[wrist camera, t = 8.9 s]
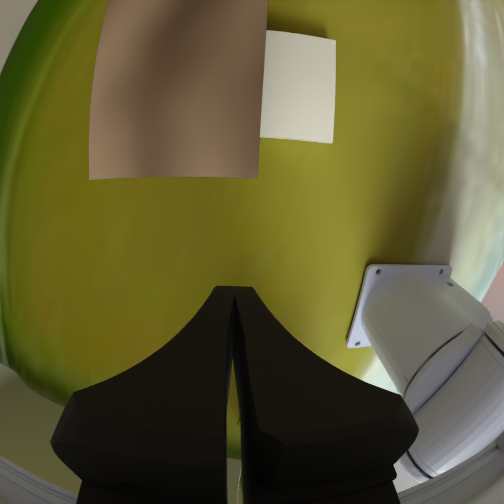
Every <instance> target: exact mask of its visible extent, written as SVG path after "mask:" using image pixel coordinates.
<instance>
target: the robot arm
mask: <svg viewBox="0 0 504 504" xmlns="http://www.w3.org/2000/svg"><path fill="white" fill-rule="evenodd" d="M378 269H379V272H377V273H376V271H377V270H378ZM440 270H441V271H440ZM451 271H452V268H451V267H450V266H449V265H399V264H371V265H369V266H368V267H367V269H366V272H365V276H364V280H363V284H362V288H361V292H360V296H359V300H358V304H357V307H356V311H355V315H354V318H353V322H352V325H351V328H350V332H349V335H348V338H347V342H346V344H347V346H348V348H358V347H367V346H372V347H373V349H374V351H375V352H376V354H377V356H378V357H379V359H380V361H381V363H382V364H383V366H384V368H385V369H386V371H387V373H388V375H389V376H390V378H391V380H392V382H393V383H394V385H395V387H396V389H397V391H398V392H399V394H400V395H399V394H396V393H393V392H391V391H388V390H385V389H382V388H379V387H377V386H374V385H371V384H369V383H366V382H364V381H362V380H360V379H358V378H356V377H354V376H352V375H349V374H347V373H345V372H344V371H342V370H340V369H338V368H336V367H335V366H333V365H331V364H330V363H328V362H327V361H325V360H323V359H322V358H320V357H319V356H317V355H316V354H315V353H313V352H312V351H310V350H309V349H308V348H306V347H305V346H304V345H303V344H302V343H300V342H299V341H298V340H297V339H295V338H294V337H293V336H292V335H291V334H290V333H289V332H288V331H287V330H286V329H285V328H284V327H283V326H282V325H281V324H280V323H279V321H278V320H277V319H276V318H275V317H274V316H273V314H272V313H271V312H270V311H269V310H268V308H267V307H266V306H265V304H264V303H263V302H262V300H261V299H260V297H259V296H258V294H257V293H256V291H255V290H254V288H253V287H241V286H216V287H215V288H214V289H213V291H212V292H211V294H210V296H209V297H208V299H207V300H206V301H205V303H204V304H203V306H202V307H201V308H200V309H199V311H198V312H197V313H196V314H195V316H194V317H193V318H192V319H191V320H190V321H189V322H188V323H187V324H186V325H185V327H184V328H183V329H182V330H181V331H180V332H179V333H178V334H177V335H176V336H174V337H173V338H172V339H171V340H170V341H169V342H168V343H166V344H165V345H164V346H163V347H162V348H160V349H159V350H158V351H156V352H155V353H153V354H152V355H150V356H149V357H147V358H146V359H145V360H143V361H142V362H140V363H138V364H137V365H135V366H133V367H131V368H130V369H128V370H126V371H124V372H122V373H120V374H118V375H116V376H114V377H112V378H110V379H107V380H105V381H103V382H100V383H98V384H95V385H93V386H90V387H87V388H85V389H82V390H79V391H76V392H74V393H73V394H72V396H71V398H70V399H69V401H68V403H67V404H66V406H65V408H64V411H63V413H62V415H61V417H60V420H59V422H58V424H57V426H56V429H55V431H54V433H53V436H52V438H51V441H50V443H51V446H52V448H53V450H54V452H55V453H56V455H57V456H58V457H59V458H60V460H61V461H62V462H63V463H64V464H65V465H67V467H69V468H70V469H71V470H72V471H73V472H74V473H75V474H76V475H77V476H78V477H79V478H80V479H81V480H82V483H81V487H80V491H79V494H76V493H74V492H71V491H69V490H66V489H64V488H61V487H59V486H57V485H54V484H52V483H50V482H48V481H46V480H44V479H42V478H40V477H38V476H36V475H33V474H32V473H30V472H28V471H26V470H24V469H22V468H21V467H19V466H17V465H15V464H14V463H12V462H10V461H9V460H7V459H5V458H4V457H2V456H1V455H0V504H228V497H227V404H228V395H229V386H230V377H231V368H232V359H233V362H234V370H235V379H236V386H237V394H238V402H239V410H240V430H241V462H242V494H243V504H504V323H502V322H501V321H500V320H497V321H493V319H492V316H491V315H490V312H489V311H488V309H486V307H485V306H484V305H483V304H481V303H480V302H479V301H478V300H477V299H475V298H474V297H473V296H472V295H471V294H469V293H468V292H467V291H466V290H465V289H463V288H462V287H461V286H460V285H458V284H457V283H456V282H455V281H453V280H452V279H451V278H450V275H451ZM356 342H357V343H356ZM398 460H399V462H400V464H401V466H402V467H403V469H404V470H405V472H406V473H407V474H408V475H409V476H410V477H411V478H413V479H414V480H415V481H417V482H419V483H421V484H418V485H416V486H414V487H411V488H409V489H407V490H404V491H402V492H399V493H397V492H396V489H395V486H394V484H393V481H392V480H394V479H395V478H396V476H397V473H396V471H395V468H394V466H393V465H394V464H395V463H396V461H398Z"/></svg>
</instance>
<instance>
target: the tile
mask: <svg viewBox="0 0 504 504" xmlns="http://www.w3.org/2000/svg"><path fill="white" fill-rule="evenodd" d="M335 79H336V41H335V40H330V39H326V38H320V37H315V36H309V35H303V34H296V33H289V32H281V31H271V30H266V45H265V62H264V78H263V94H262V110H261V126H260V137H264V138H279V139H291V140H302V141H311V142H320V143H333V129H334V110H335Z"/></svg>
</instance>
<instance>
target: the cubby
mask: <svg viewBox="0 0 504 504" xmlns="http://www.w3.org/2000/svg"><path fill="white" fill-rule="evenodd" d="M267 13H268V0H109V1H108V5H107V9H106V13H105V17H104V21H103V25H102V30H101V35H100V40H99V45H98V51H97V57H96V63H95V70H94V78H93V87H92V97H91V109H90V128H89V178H90V180H92V179H108V178H129V177H234V178H256V179H257V174H258V158H259V142H260V126H261V110H262V94H263V78H264V62H265V45H266V29H267Z"/></svg>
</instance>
